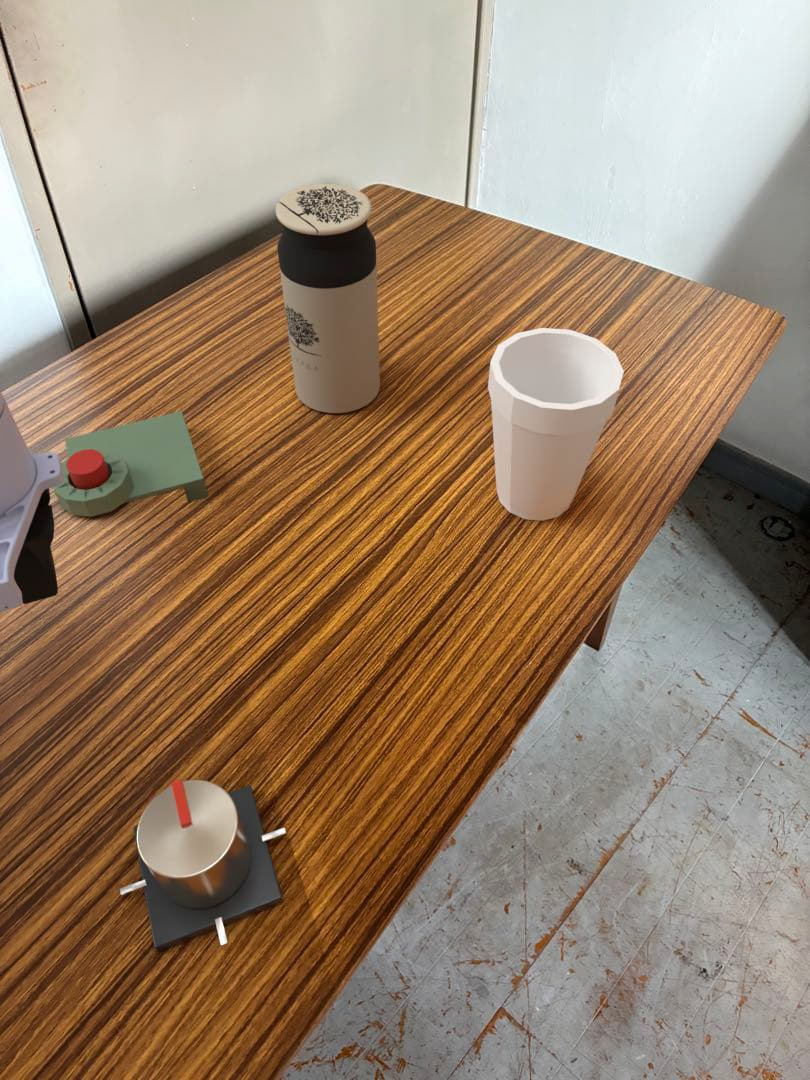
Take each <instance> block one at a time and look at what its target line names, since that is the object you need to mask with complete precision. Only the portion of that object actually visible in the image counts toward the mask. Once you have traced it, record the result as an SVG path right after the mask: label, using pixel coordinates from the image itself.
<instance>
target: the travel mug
mask: <svg viewBox="0 0 810 1080" xmlns="http://www.w3.org/2000/svg"><path fill="white" fill-rule="evenodd" d="M372 209H373V206H372V203H371V201H370V199H369V197H368V196H367V195H366V194H364V193H363V192H362V191H360V190H359V189H356V188H353V187H351V186H347V185H342V184H335V183H318V184H311V185H305V186H301V187H298V188H295V189H293V190H291V191H289V192H287V193H286V194H285V195H283V196H282V197H281V198H280V199H279V200H278V202H277V203H276V206H275V215H276V218H277V220H278V221H279V222H280V223H281V227H282V233H281V234H280V237H279V240H278V241H277V245H276V247H277V248H276V250H277V256H278V264H279V272H280V280H281V288H282V295H283V302H284V304H283V305H284V312H285V319H286V328H287V332H288V333H287V335H288V342H289V350H290V358H291V366H292V373H293V380H294V388H295V394H296V396H297V398H298V400H300V402H301V403H303V404H304V405H305V406H307V407H308V408H310V409H313V410H315V411H318V412H323V413H326V414H327V413H328V414H343V413H350V412H354V411H357V410H359V409H360V410H361V409H362V408H364V407H366V406H368V405H369V404H370V403H371V402H373V400H375V398H376V397H377V395H378V394H379V392H380V388H381V375H380V369H381V368H380V338H379V337H380V335H379V305H378V303H379V301H378V272H377V242H376V239H375V236H374V234H373V233H372V231H371V230H370V228H369V226H368V220H369V218H370V216H371V214H372Z"/></svg>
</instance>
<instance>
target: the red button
mask: <svg viewBox="0 0 810 1080" xmlns="http://www.w3.org/2000/svg"><path fill="white" fill-rule="evenodd" d="M67 459H68V458H67ZM66 467H67V470H68V472H69V474H70V477H71V479H72V481H73V483H74V485H75V486H76V487H77V488H79V489H83V490H89V489H93V488H97V487H99V486H101V485H102V484H104V483H105V482H106V481H107V480H108V478H109V470H108V468H107V465H106V462H105V460H104V457H103V455H102V454H101V453H100V452H99V451H96V450H92V449H87V450H82V451H79V452H76V453H75V454H73V455H72V456H71V457H70V458H69V459H68V461H67V464H66Z"/></svg>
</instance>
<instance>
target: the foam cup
mask: <svg viewBox="0 0 810 1080" xmlns="http://www.w3.org/2000/svg"><path fill="white" fill-rule="evenodd" d="M624 374H625V370H624V369H623V366H622V365H621V362H620V360H619V358H618V355H617V353H615V352H614V351H613V350H612V349H610V347H608V346H606V345H605V344H604V343H603V342H601V341H600V340H599V339H597V338H595V337H593V336H589V335H587V334H584V333H581V332H578V331H575V330H572V329H564V328H550V327H540V328H539V327H538V328H535V329H529V330H525V331H521V332H515V334H513V335H512V336H510V337H509V338H507V339H506V340H504V341H502V342H500V343H499V344H497V347H496V349H495V351H494V353H493V355H492V358H491V359H490V362H489V372H488V380H487V381H488V382H487V390H488V393H489V397H490V402H491V421H492V422H491V423H492V438H493V454H494V455H493V457H494V472H495V473H494V475H495V487H496V493H497V497H498V502H499V503H500V504H501V505H502V506H503V507H504V508H505V509H506V510H507V511H508V512H509V513H510V514H513V515H514V516H517V517H519V518H521V519H523V520H530V521H539V522H541V521H542V522H544V521H547V520H552V519H555V518H559V517H560V516H561V515H562V514H564V513H565V512H566V511H567V510H568V509H569V508H570V506H571V504H572V503H573V501H574V498H575V495H576V494H577V491H578V488H579V487H580V484H581V482H582V479H583V477H584V475H585V472H586V470H587V467H588V465H589V463H590V461H591V459H592V456H593V454H594V451H595V450H596V447H597V445H598V442H599V440H600V438H601V435H602V433H603V431H604V428H605V427H606V423H607V422H608V419H610V417H612V416H613V414H614V410H615V406H616V404H617V400H618V396H619V392H620V388H621V385H622V381H623V376H624Z"/></svg>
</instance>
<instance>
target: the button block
mask: <svg viewBox="0 0 810 1080" xmlns="http://www.w3.org/2000/svg"><path fill="white" fill-rule="evenodd" d="M64 443H65V448H66V453H67V458H66V459H65V460H64V461H62V462H61V464H62V469H63V475H64V479H63V482H62V483H61V484H59V485H57V486H55V487H52V488H53V492H54V494H55V496H56V498H57V500H58V503H59V504H60V506H61V507H62V508H64V510H66V511H67V512H69V513H70V514H71V515H73V516H79V517H88V518H89V517H90V518H91V517H96V516H99V515H103V514H108V513H111V512H113V511H114V510H116V509H117V508H118V507H120V506H121V505H123V504H128V503H131V502H135V501H138V500H142V499H145V498H150V497H153V496H157V495H161V494H165V493H169V492H172V491H177V490H180V489H183V490H184V494H185V497H186V501H187V502H188V503H189V502H193V501H197V500H199V499H205V498H207V497H209V493H208V489H207V484H206V481H205V478H204V475H203V472H202V469H201V465H200V463H199V459H198V457H197V453H196V449H195V447H194V444H193V441H192V438H191V434H190V432H189V428H188V425H187V423H186V419H185V416H184V414H183V411H182V410H180V411H175V412H171V413H168V414H167V413H166V414H163V415H159V416H155V417H150V418H146V419H142V420H139V421H138V420H137V421H135V422H134V421H133V422H130V423H126V424H121V425H117V426H114V427H109V428H105V429H100V430H96V431H92V432H88V433H84V434H80V435H77V436H72V437H68V438H65V439H64ZM87 449H92V450H96V451H99V452H100V453H101V454H102V455H103V457H104V460H105V462H106V465H107V468H108V470H109V478H108V480H107V481H106V482H105V483H104V484H102V485H101V486H99V487H97V488H93V489H89V490H83V489H79V488H77V487H76V486H75V485H74V483H73V481H72V479H71V477H70V474H69V472H68V470H67V467H66V464H67V461H68V459H69V458H70V457H71V456H72V455H73V454H75V453H76V452H79V451H82V450H87Z"/></svg>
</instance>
